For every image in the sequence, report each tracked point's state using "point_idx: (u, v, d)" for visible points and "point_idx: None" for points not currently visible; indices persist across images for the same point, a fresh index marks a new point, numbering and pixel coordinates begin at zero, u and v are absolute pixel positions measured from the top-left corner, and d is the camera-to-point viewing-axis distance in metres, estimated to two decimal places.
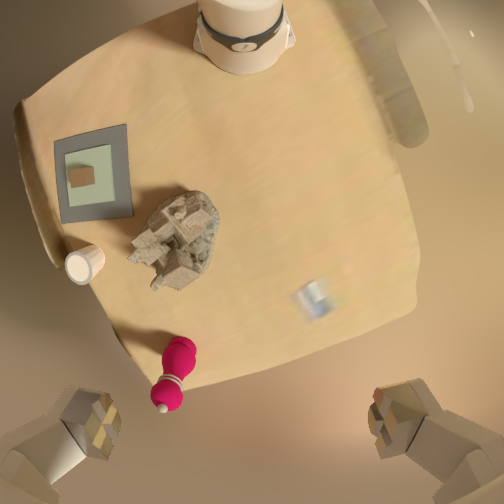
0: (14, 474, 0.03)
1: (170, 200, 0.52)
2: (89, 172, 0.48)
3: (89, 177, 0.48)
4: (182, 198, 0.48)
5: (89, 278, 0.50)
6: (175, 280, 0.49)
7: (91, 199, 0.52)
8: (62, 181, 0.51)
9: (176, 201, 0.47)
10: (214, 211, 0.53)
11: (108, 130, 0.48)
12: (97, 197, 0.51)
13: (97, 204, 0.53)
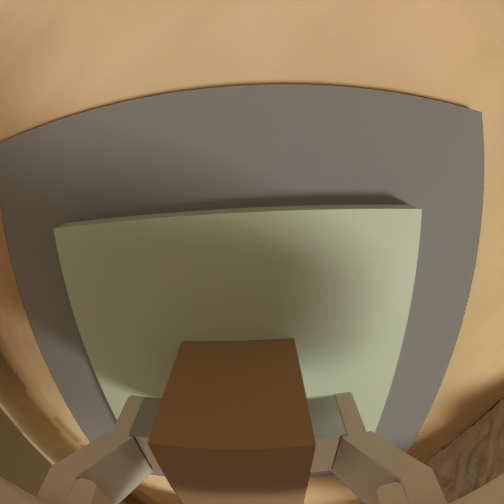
0: None
1: None
2: None
3: None
4: None
5: None
6: None
7: None
8: (68, 356, 0.10)
9: None
10: None
11: (396, 109, 0.07)
12: None
13: None
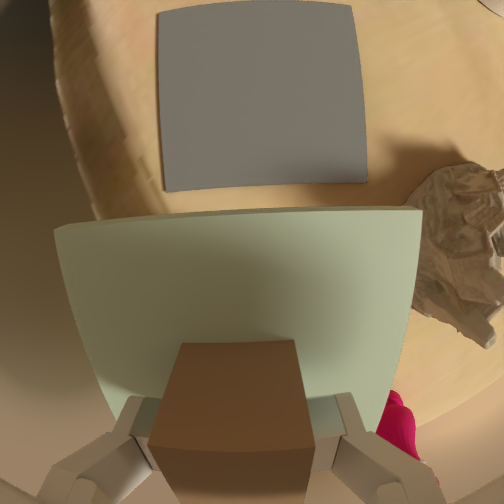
0: None
1: (452, 172, 0.23)
2: None
3: None
4: (494, 173, 0.20)
5: None
6: None
7: None
8: (177, 91, 0.22)
9: None
10: None
11: (312, 5, 0.19)
12: None
13: (280, 148, 0.24)
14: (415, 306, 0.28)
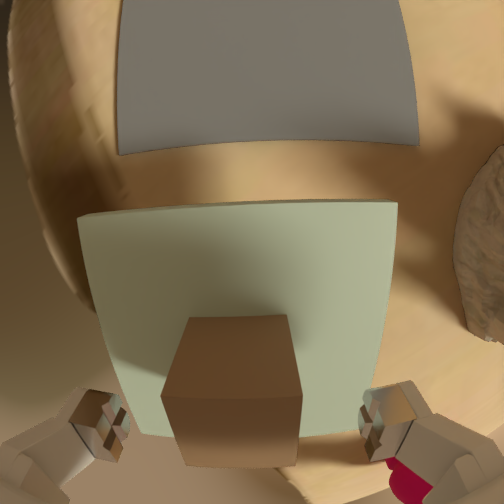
0: (23, 479, 0.03)
1: None
2: None
3: None
4: None
5: None
6: None
7: None
8: (145, 17, 0.13)
9: None
10: None
11: None
12: None
13: (294, 86, 0.14)
14: (473, 328, 0.18)
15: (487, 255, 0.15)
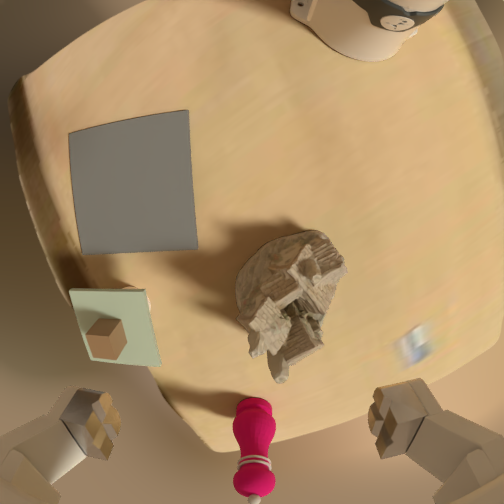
0: (14, 474, 0.03)
1: (279, 244, 0.37)
2: (117, 334, 0.32)
3: (119, 341, 0.32)
4: (308, 246, 0.33)
5: None
6: None
7: (124, 359, 0.35)
8: (82, 193, 0.36)
9: (303, 252, 0.33)
10: None
11: (158, 118, 0.33)
12: (133, 358, 0.35)
13: (139, 229, 0.38)
14: None
15: None
